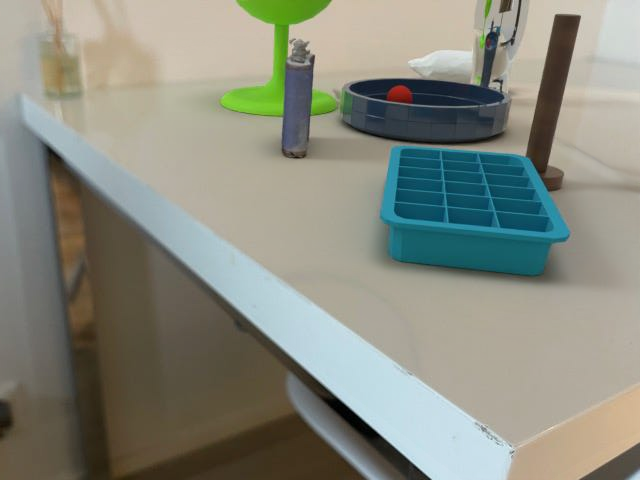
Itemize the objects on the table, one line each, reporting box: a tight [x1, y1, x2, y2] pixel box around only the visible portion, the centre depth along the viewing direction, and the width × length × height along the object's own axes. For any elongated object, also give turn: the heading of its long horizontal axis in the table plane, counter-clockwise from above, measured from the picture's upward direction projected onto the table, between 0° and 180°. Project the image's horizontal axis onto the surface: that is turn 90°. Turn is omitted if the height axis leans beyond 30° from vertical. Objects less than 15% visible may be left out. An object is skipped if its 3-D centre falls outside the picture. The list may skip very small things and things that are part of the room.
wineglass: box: [220, 0, 338, 117], centre depth 87 cm, size 16×16×18 cm
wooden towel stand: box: [525, 13, 582, 192], centre depth 57 cm, size 5×5×14 cm
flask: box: [281, 37, 316, 159], centre depth 68 cm, size 9×3×11 cm, turn 173°
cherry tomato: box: [387, 86, 412, 104], centre depth 84 cm, size 3×3×3 cm
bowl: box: [339, 77, 513, 144], centre depth 80 cm, size 20×20×4 cm
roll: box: [407, 49, 472, 83], centre depth 105 cm, size 6×12×6 cm, turn 74°
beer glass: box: [469, 0, 531, 94], centre depth 92 cm, size 7×7×15 cm
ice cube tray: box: [379, 145, 571, 277], centre depth 50 cm, size 12×20×3 cm, turn 167°
